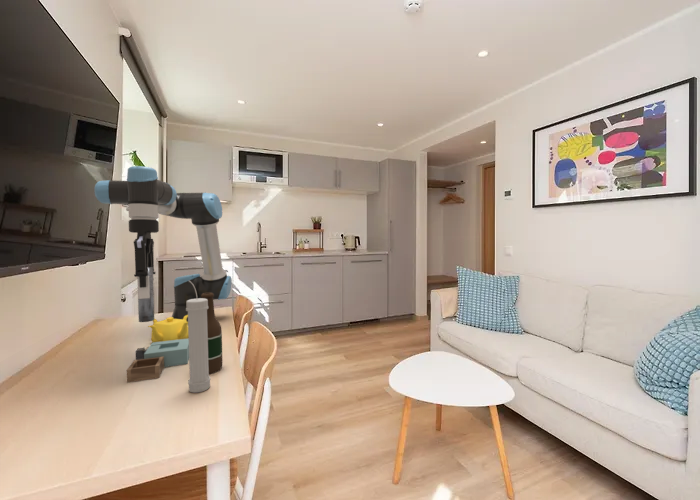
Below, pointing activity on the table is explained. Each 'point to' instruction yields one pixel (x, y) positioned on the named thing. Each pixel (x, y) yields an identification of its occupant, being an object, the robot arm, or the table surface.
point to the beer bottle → (213, 336)
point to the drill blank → (147, 302)
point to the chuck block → (170, 351)
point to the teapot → (169, 329)
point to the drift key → (140, 353)
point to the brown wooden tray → (145, 369)
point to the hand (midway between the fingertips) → (145, 296)
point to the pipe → (198, 344)
